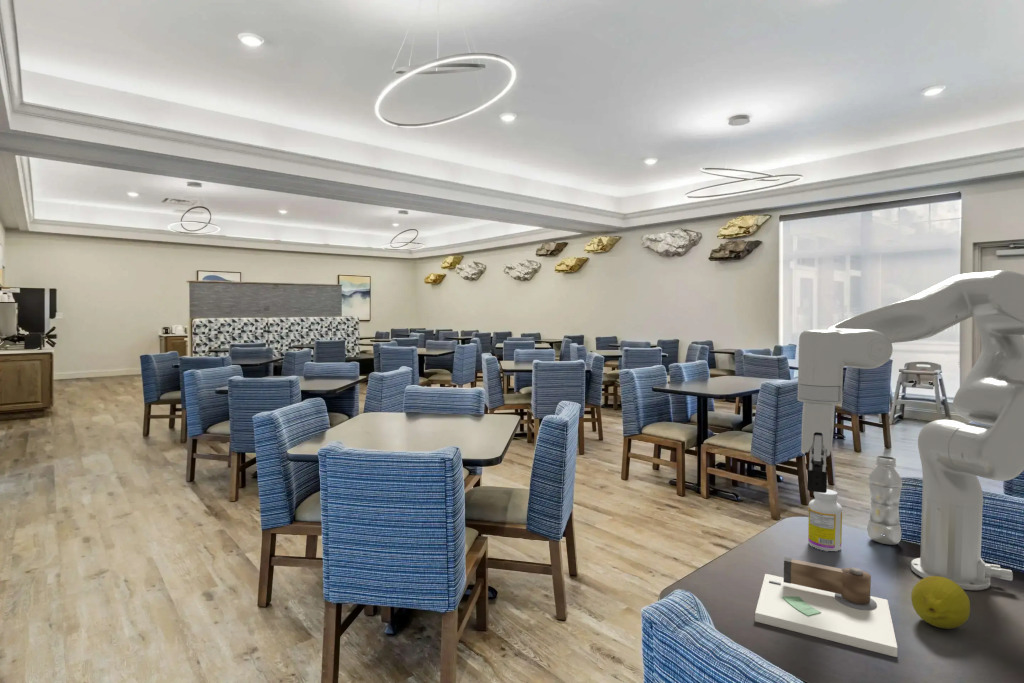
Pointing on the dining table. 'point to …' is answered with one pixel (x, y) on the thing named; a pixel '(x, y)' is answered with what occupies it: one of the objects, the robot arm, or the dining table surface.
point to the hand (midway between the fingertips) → (817, 487)
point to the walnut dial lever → (830, 579)
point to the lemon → (940, 602)
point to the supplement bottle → (825, 521)
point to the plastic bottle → (885, 502)
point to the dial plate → (826, 615)
